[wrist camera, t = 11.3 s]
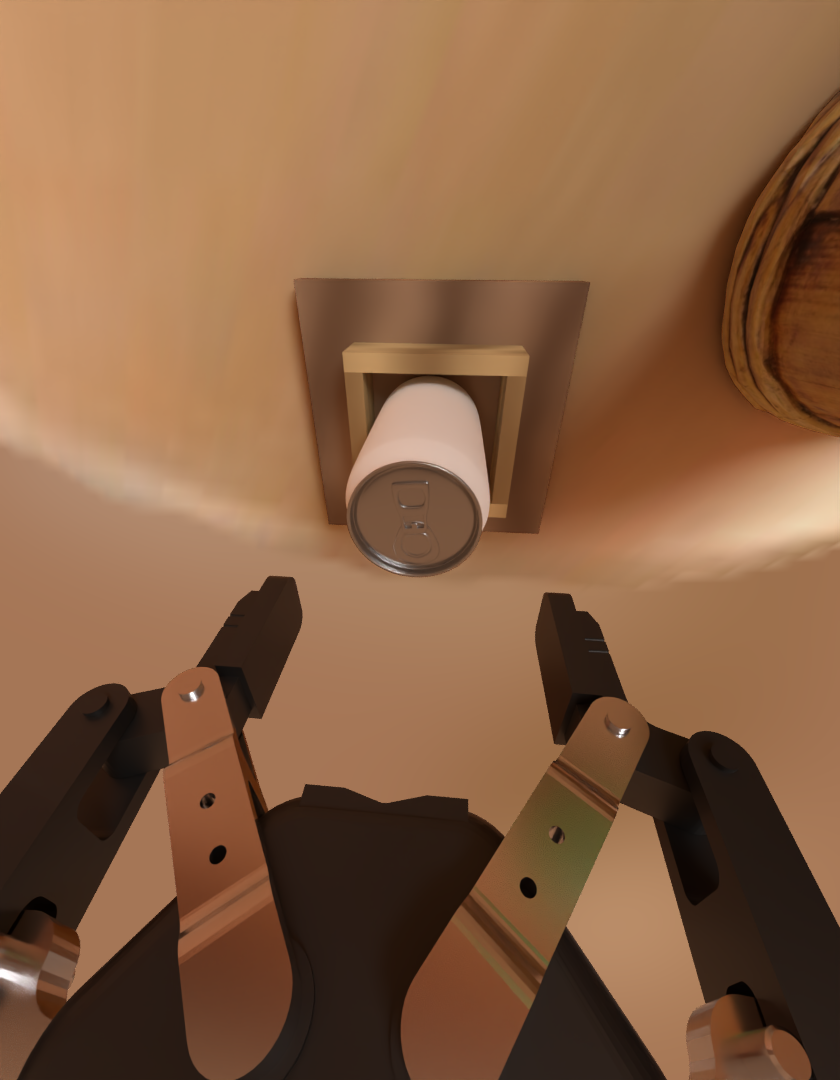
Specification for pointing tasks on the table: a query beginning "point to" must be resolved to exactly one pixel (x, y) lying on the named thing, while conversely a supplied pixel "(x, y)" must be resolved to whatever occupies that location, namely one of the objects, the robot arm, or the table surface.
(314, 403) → the socket stand
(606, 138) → the table surface
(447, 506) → the can
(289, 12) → the table surface
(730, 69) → the table surface
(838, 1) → the table surface
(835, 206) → the tankard
